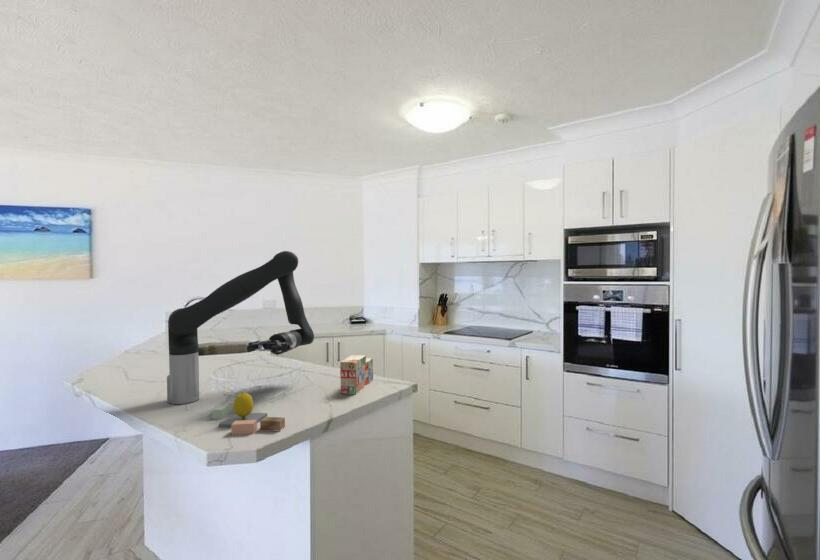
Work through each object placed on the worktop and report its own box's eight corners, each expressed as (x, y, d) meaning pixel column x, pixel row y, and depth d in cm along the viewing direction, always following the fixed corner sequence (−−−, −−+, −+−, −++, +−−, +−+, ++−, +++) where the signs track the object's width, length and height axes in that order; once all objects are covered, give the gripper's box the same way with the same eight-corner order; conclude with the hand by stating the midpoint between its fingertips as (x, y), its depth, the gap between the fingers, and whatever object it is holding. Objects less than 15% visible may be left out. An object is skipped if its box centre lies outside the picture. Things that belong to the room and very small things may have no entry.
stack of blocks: (359, 379, 167) (358, 350, 167) (373, 379, 166) (372, 350, 166) (340, 394, 146) (339, 361, 146) (356, 394, 145) (355, 361, 145)
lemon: (257, 416, 121) (257, 391, 121) (241, 422, 116) (241, 395, 116) (245, 413, 123) (245, 388, 123) (229, 419, 119) (229, 393, 119)
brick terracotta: (231, 435, 109) (231, 424, 109) (235, 431, 112) (235, 420, 112) (253, 434, 110) (253, 423, 110) (256, 430, 113) (256, 419, 113)
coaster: (218, 426, 115) (218, 423, 115) (238, 414, 125) (237, 412, 125) (250, 427, 114) (250, 425, 114) (267, 415, 124) (267, 413, 124)
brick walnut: (260, 431, 112) (260, 420, 112) (265, 427, 115) (265, 417, 115) (280, 431, 111) (279, 421, 111) (284, 427, 114) (284, 417, 114)
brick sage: (222, 419, 122) (221, 409, 122) (212, 419, 122) (212, 410, 122) (230, 412, 128) (230, 403, 128) (221, 412, 128) (221, 403, 128)
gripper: (265, 331, 147) (240, 337, 131) (300, 333, 145) (280, 339, 129) (264, 351, 147) (240, 359, 131) (300, 353, 145) (280, 361, 129)
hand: (260, 349), depth 130 cm, fingers open, 8 cm apart
